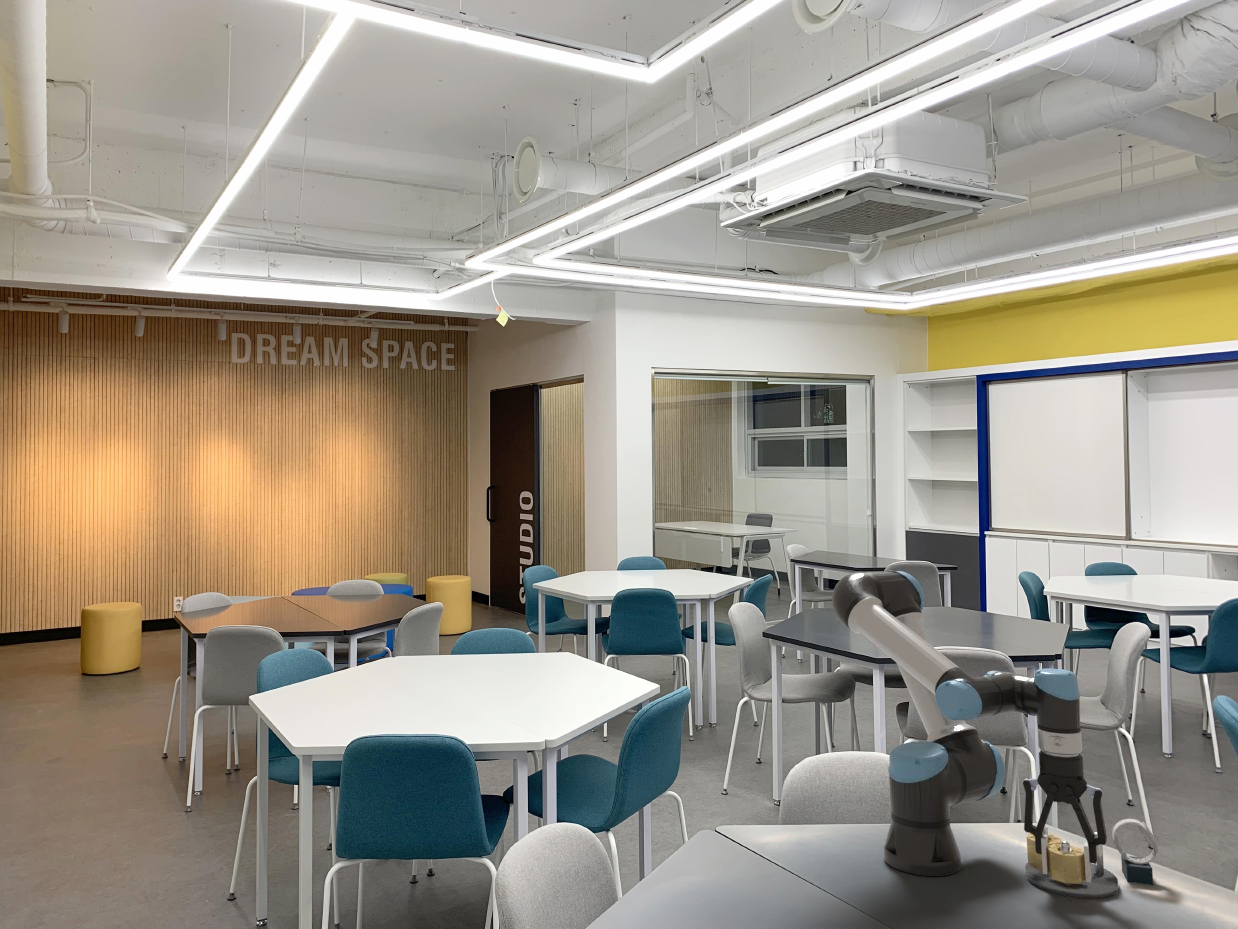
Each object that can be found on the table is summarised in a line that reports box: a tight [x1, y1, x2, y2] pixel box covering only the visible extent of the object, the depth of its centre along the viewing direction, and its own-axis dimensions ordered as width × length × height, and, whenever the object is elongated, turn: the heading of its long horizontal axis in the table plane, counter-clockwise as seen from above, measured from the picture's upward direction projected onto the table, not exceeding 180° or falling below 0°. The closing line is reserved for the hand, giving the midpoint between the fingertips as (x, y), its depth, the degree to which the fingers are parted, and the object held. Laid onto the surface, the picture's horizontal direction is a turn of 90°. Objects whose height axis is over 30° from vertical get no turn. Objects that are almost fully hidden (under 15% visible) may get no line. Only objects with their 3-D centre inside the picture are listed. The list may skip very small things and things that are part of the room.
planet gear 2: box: [1047, 844, 1086, 884], centre depth 162 cm, size 6×6×5 cm
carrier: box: [1024, 826, 1119, 900], centre depth 166 cm, size 16×16×9 cm
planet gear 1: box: [1026, 832, 1062, 869], centre depth 171 cm, size 6×6×5 cm
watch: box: [1111, 818, 1161, 886], centre depth 167 cm, size 6×8×11 cm
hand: (1067, 875), depth 161 cm, fingers closed on planet gear 2, 6 cm apart
